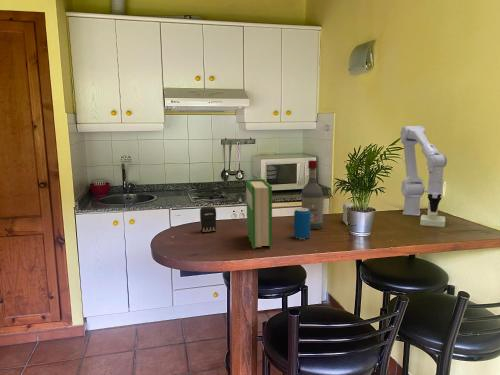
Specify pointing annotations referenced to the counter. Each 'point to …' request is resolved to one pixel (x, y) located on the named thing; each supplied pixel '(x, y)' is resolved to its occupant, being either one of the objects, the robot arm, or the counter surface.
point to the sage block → (432, 220)
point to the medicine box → (345, 212)
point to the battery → (208, 217)
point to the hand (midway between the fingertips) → (433, 210)
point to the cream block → (430, 210)
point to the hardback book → (259, 212)
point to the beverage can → (302, 223)
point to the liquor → (313, 198)
